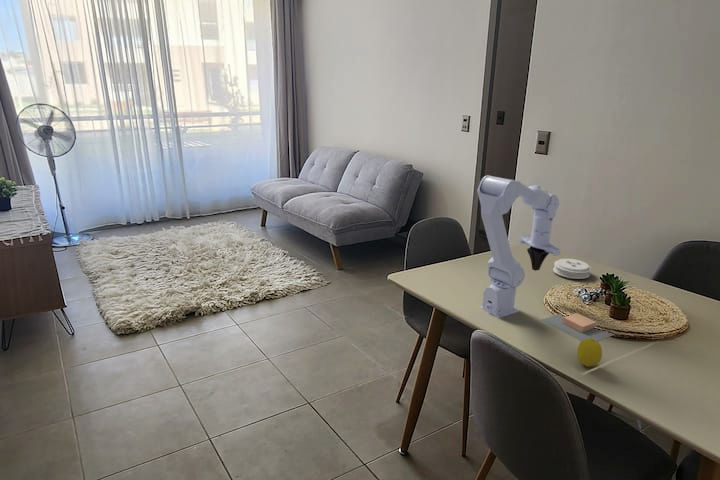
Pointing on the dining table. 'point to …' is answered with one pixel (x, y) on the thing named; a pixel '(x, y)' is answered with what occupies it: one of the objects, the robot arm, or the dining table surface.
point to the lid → (572, 268)
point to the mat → (592, 333)
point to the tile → (579, 322)
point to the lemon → (589, 352)
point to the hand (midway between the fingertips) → (535, 269)
